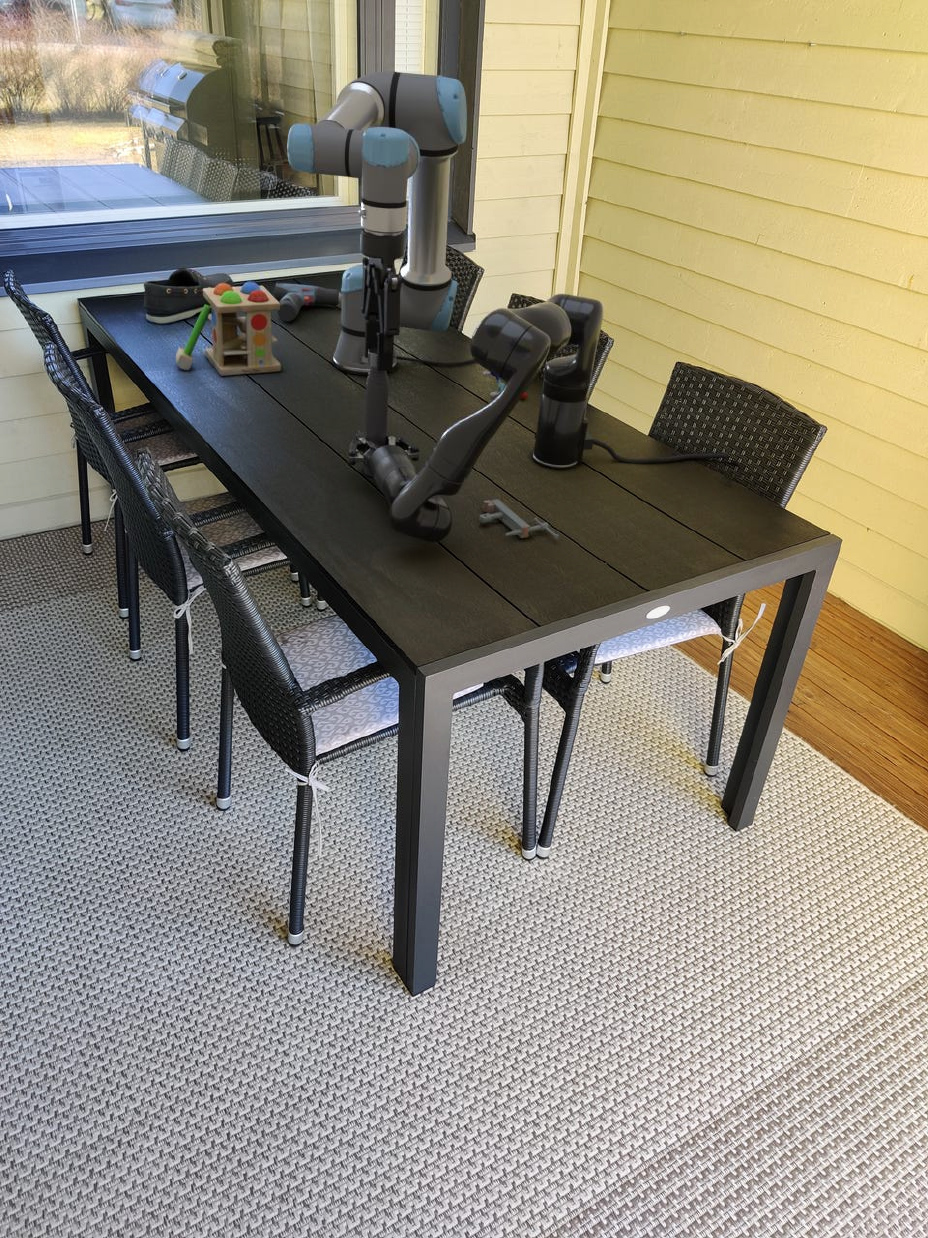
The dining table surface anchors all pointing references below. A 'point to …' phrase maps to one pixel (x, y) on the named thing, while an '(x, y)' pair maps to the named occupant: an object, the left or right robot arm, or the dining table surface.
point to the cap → (372, 357)
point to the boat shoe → (179, 295)
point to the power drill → (302, 298)
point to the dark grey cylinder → (376, 408)
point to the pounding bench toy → (229, 347)
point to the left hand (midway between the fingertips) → (378, 363)
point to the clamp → (511, 519)
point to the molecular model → (500, 386)
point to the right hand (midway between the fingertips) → (371, 434)
